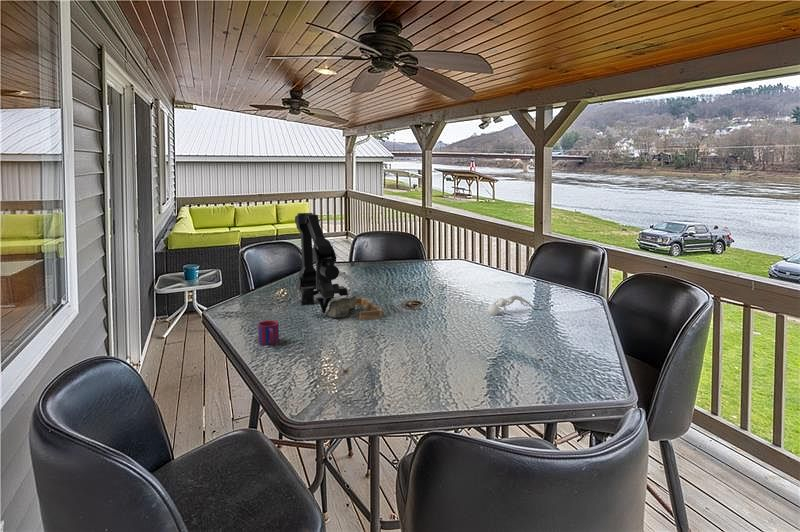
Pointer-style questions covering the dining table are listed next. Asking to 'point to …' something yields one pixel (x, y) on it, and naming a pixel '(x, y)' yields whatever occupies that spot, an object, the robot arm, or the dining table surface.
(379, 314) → the wooden u-shaped handle
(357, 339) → the dining table surface
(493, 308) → the figurine
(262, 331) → the mug
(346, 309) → the rock
